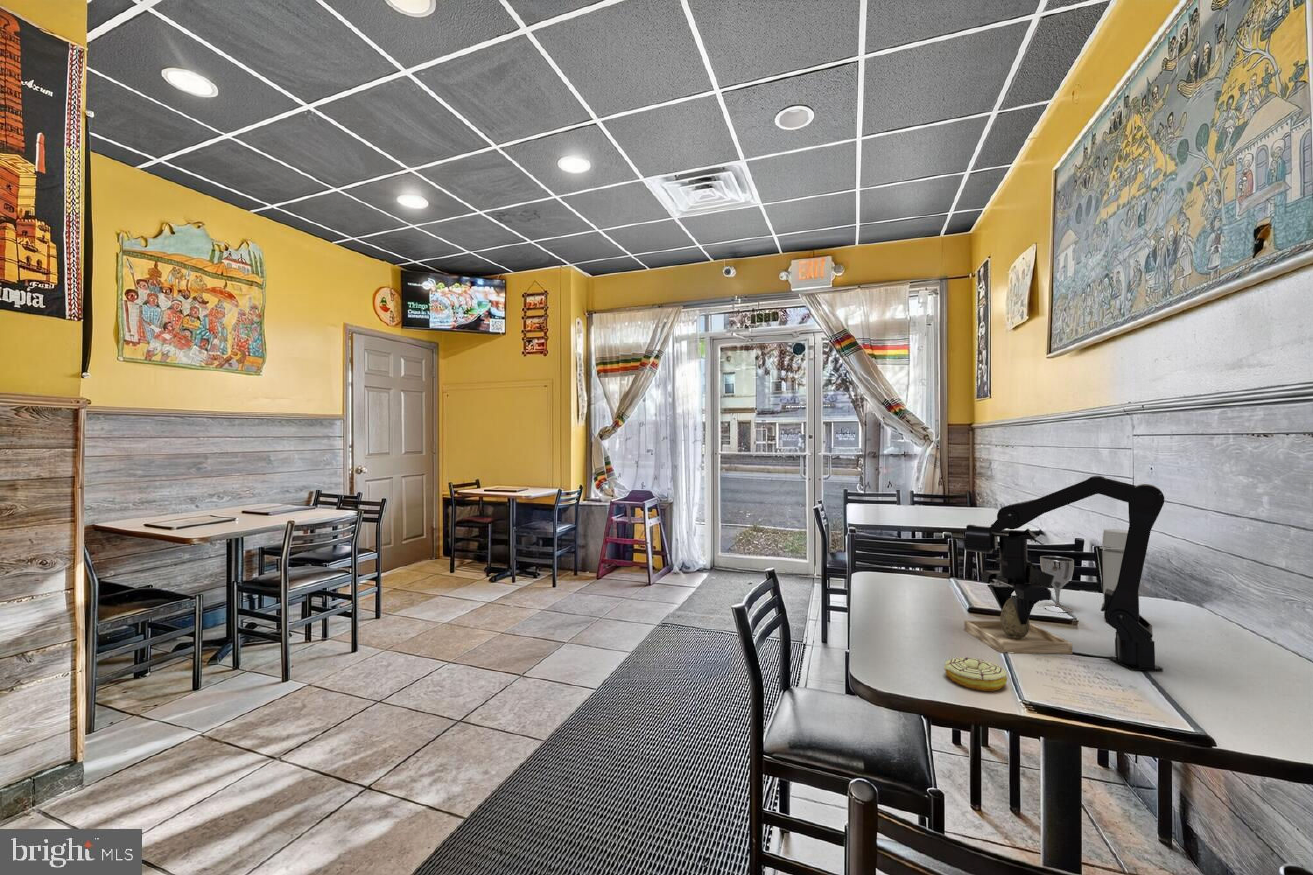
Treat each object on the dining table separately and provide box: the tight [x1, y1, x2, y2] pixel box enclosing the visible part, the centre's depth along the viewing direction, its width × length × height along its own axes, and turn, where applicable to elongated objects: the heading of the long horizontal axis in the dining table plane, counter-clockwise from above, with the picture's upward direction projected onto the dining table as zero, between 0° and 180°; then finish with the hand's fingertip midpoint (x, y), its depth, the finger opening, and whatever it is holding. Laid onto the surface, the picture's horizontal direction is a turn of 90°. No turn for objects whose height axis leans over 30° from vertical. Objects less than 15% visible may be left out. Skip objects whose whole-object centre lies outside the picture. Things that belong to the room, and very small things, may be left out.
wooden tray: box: [963, 620, 1073, 655], centre depth 131 cm, size 16×16×2 cm
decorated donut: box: [943, 657, 1008, 692], centre depth 109 cm, size 10×11×4 cm
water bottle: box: [1099, 528, 1128, 620], centre depth 146 cm, size 9×8×25 cm
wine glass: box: [1039, 555, 1075, 614], centre depth 158 cm, size 8×8×15 cm
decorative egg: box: [999, 597, 1030, 639], centre depth 131 cm, size 6×6×10 cm
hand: (1014, 619), depth 131 cm, fingers open, 6 cm apart
